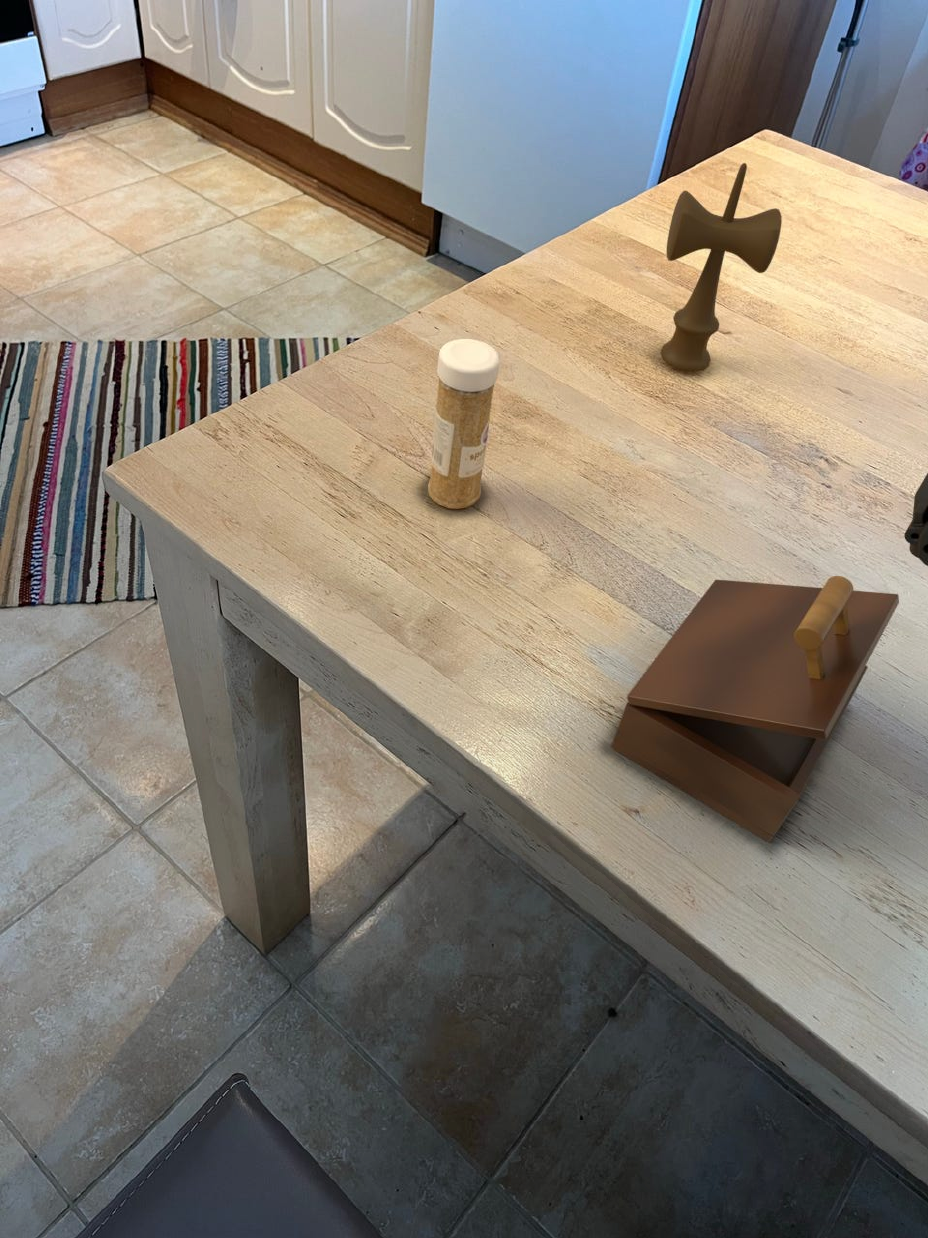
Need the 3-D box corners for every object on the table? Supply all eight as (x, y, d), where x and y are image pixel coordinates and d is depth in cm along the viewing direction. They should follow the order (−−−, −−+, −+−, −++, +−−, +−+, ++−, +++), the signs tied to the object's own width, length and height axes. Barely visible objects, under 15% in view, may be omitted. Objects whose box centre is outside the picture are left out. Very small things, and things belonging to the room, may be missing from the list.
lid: (899, 602, 60) (894, 542, 58) (826, 740, 52) (816, 676, 50) (717, 587, 68) (706, 533, 66) (628, 704, 60) (612, 647, 58)
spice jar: (481, 512, 78) (502, 372, 69) (426, 509, 78) (439, 368, 68) (479, 477, 82) (498, 337, 72) (426, 474, 81) (438, 333, 71)
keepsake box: (840, 708, 68) (868, 666, 64) (769, 843, 60) (796, 803, 56) (696, 631, 72) (714, 587, 68) (610, 747, 64) (626, 704, 60)
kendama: (637, 339, 100) (689, 140, 85) (729, 354, 99) (796, 158, 84) (636, 370, 95) (690, 167, 81) (731, 386, 95) (802, 185, 80)
